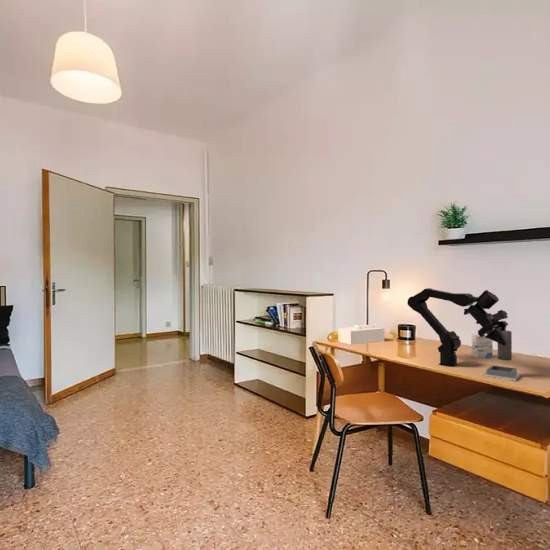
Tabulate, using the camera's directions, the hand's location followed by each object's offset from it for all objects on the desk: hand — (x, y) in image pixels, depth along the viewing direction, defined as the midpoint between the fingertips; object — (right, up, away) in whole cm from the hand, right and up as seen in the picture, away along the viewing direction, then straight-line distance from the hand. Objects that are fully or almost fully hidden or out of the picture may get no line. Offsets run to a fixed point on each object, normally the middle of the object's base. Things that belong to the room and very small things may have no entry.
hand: (508, 344), depth 168 cm
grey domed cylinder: (-1, -7, +1) cm, 7 cm away
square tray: (-3, -13, 0) cm, 14 cm away
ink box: (+8, -13, +36) cm, 39 cm away
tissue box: (-44, -13, +84) cm, 96 cm away
